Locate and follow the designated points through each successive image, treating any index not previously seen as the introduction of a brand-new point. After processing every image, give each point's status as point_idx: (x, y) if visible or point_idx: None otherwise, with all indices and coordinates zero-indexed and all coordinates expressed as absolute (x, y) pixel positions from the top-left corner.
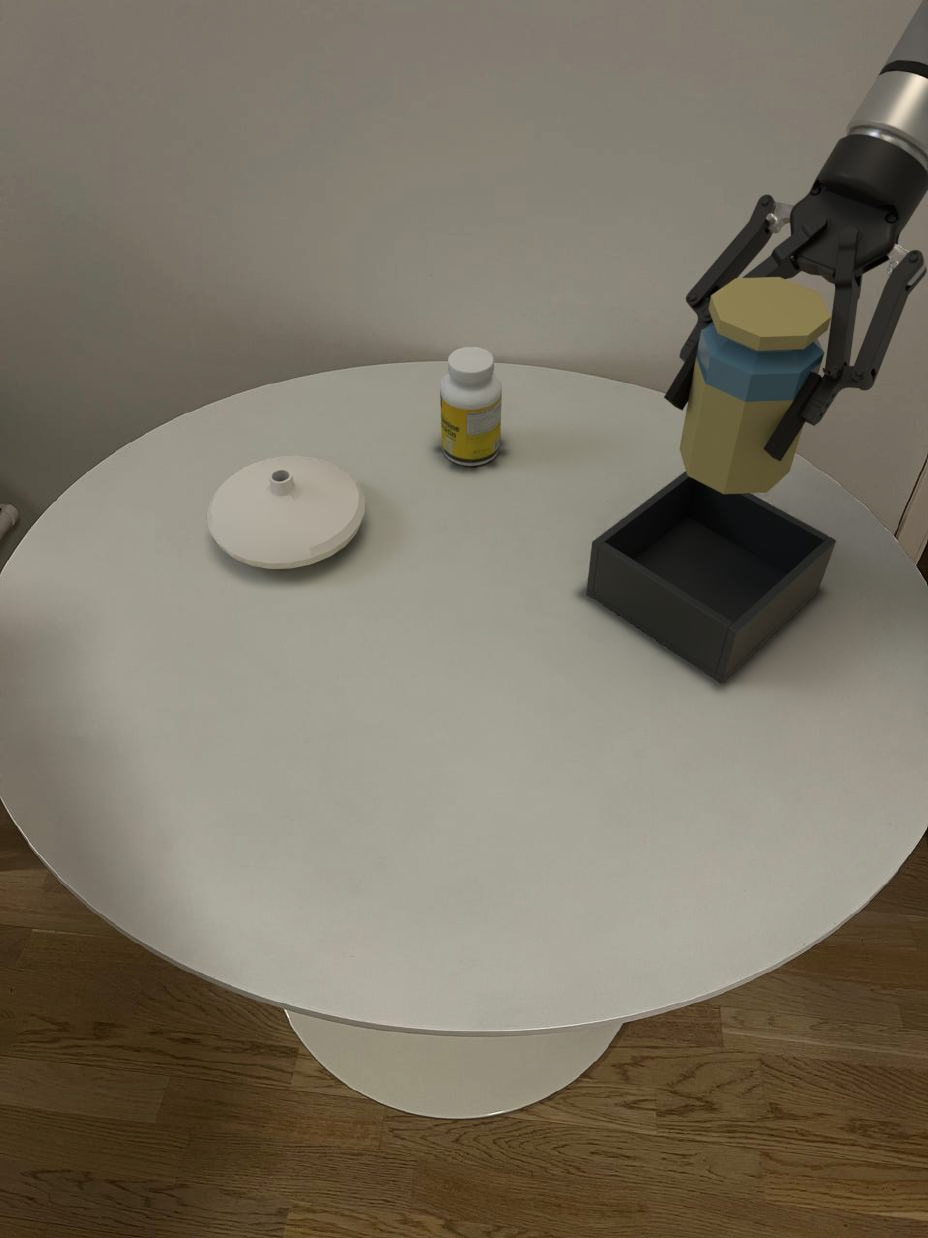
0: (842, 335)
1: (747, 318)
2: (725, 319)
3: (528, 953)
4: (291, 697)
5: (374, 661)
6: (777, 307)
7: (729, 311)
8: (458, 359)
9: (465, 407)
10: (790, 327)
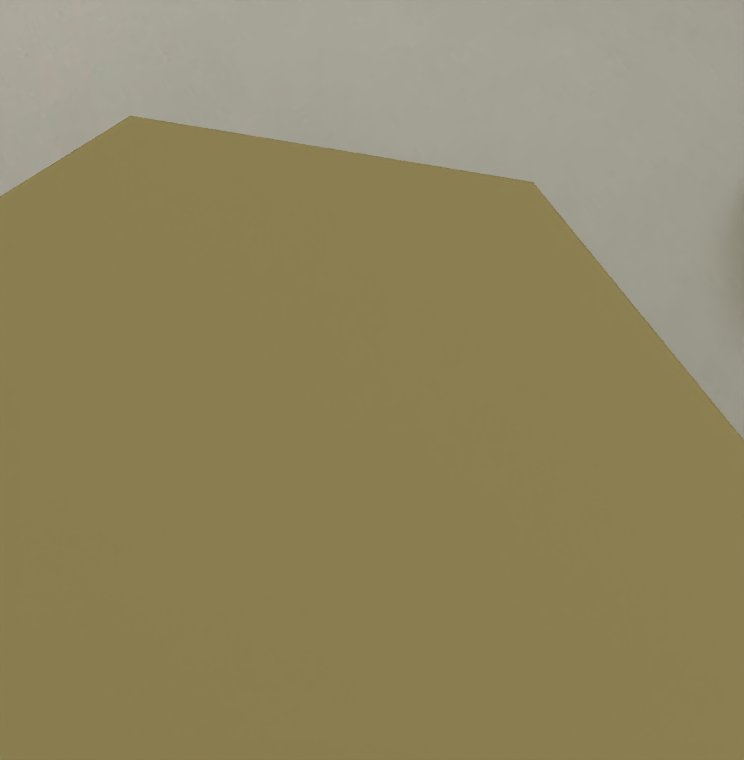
0: None
1: (355, 323)
2: (503, 214)
3: None
4: (647, 13)
5: (608, 109)
6: (192, 675)
7: (536, 347)
8: None
9: None
10: None
